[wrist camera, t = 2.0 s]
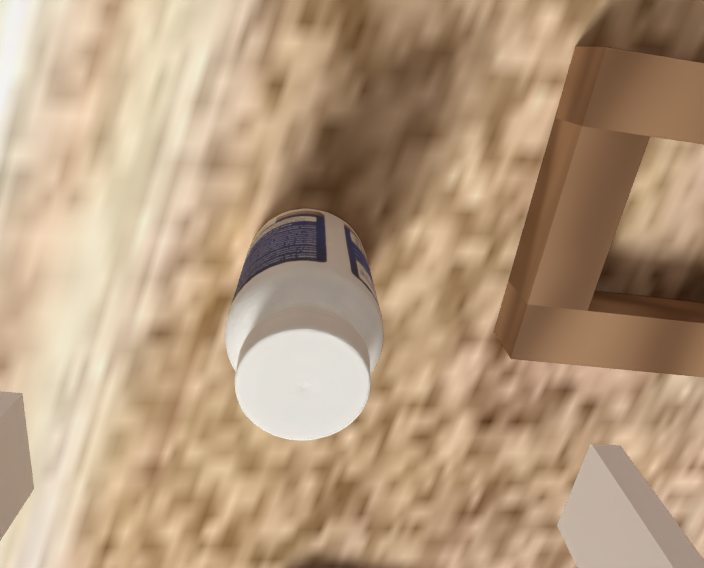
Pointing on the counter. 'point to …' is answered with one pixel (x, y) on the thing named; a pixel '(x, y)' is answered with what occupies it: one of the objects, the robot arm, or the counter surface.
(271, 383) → the pill bottle
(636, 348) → the brown square frame
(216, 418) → the counter surface
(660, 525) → the robot arm
